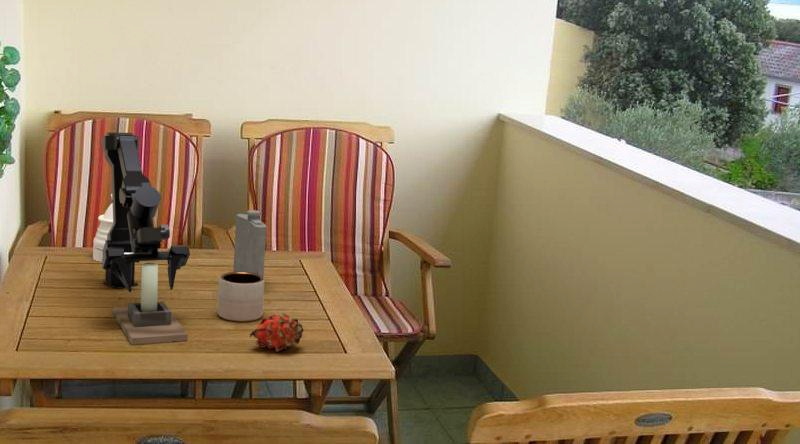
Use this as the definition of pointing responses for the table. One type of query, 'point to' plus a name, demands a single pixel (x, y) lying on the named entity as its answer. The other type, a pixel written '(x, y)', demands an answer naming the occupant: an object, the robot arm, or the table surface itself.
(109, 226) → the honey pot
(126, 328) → the keeper
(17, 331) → the table surface
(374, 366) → the table surface
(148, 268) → the pale green peg
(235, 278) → the planter
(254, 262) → the hip flask
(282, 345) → the dragon fruit
